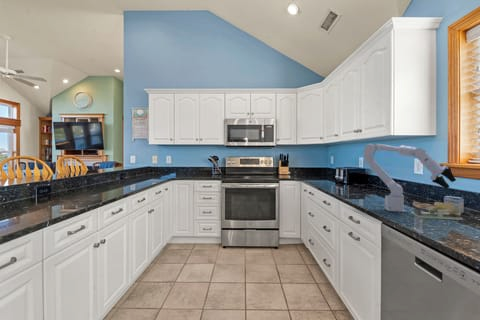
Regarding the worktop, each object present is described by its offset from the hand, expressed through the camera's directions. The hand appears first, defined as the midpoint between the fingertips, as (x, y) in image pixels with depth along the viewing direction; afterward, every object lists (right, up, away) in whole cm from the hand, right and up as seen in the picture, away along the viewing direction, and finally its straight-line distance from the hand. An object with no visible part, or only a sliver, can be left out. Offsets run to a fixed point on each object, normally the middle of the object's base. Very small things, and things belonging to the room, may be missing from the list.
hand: (451, 184), depth 138 cm
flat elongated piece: (-10, -13, -2) cm, 17 cm away
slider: (-7, -13, -3) cm, 15 cm away
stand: (-10, -17, -2) cm, 20 cm away
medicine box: (+8, -17, +8) cm, 20 cm away
